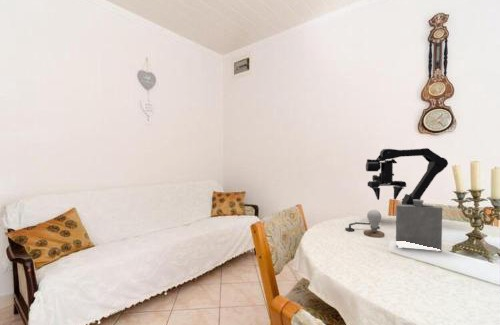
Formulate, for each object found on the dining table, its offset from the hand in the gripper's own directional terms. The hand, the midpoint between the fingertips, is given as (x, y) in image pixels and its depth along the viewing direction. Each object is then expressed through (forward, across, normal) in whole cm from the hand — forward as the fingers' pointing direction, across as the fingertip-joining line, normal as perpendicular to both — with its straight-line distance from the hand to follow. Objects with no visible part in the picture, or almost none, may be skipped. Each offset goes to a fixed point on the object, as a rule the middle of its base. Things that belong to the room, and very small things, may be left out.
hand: (386, 199), depth 137 cm
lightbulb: (+12, +16, +18) cm, 27 cm away
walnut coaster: (+13, +16, +19) cm, 28 cm away
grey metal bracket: (+13, +18, +11) cm, 25 cm away
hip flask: (+13, +7, +36) cm, 39 cm away
